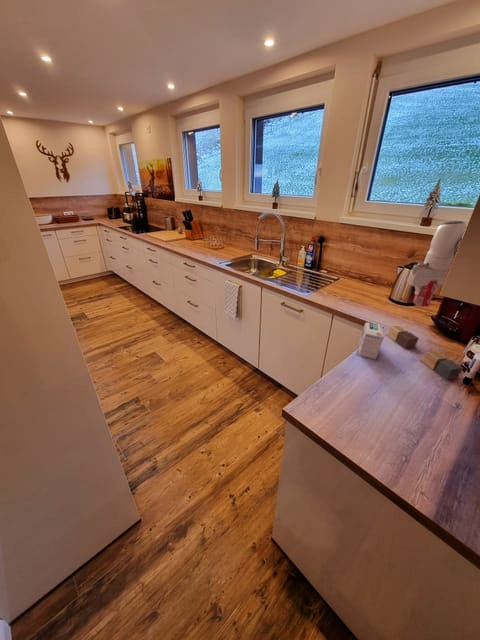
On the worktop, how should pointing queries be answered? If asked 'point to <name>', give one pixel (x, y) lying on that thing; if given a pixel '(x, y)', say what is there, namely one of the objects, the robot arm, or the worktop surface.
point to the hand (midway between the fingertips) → (424, 294)
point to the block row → (431, 358)
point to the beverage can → (425, 294)
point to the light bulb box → (371, 340)
